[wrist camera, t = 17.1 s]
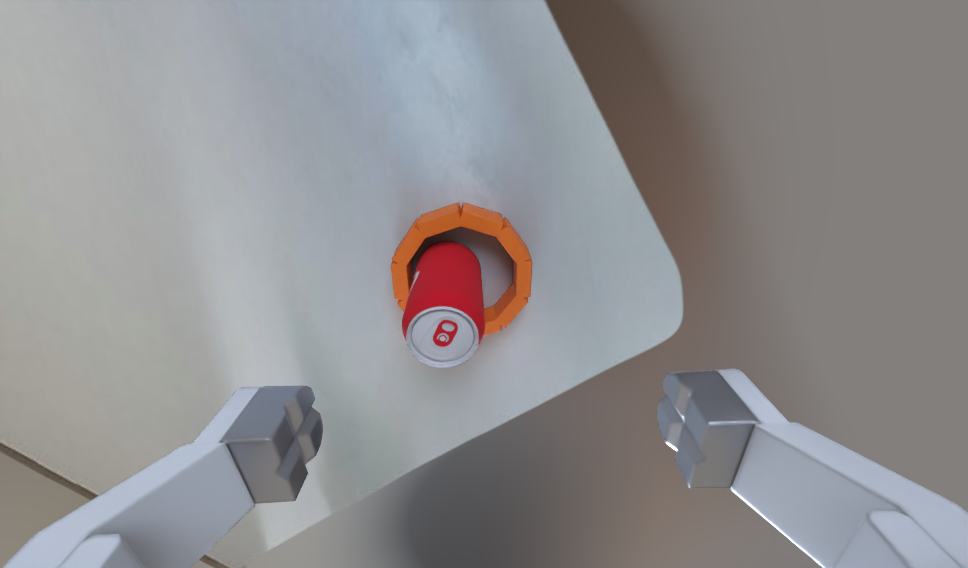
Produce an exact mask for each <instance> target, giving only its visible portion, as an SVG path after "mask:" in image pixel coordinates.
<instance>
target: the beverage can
mask: <svg viewBox="0 0 968 568" xmlns="http://www.w3.org/2000/svg"><path fill="white" fill-rule="evenodd" d="M402 329H403V334H404V337H405V339H406V341H407V345H408V348H409V350H410V351H411V353H412V354H413V355H414V357H415V358H417V359H418V360H419V361H421V362H422V363H424V364H426V365H429V366H433V367H438V368H448V367H454V366H457V365H460V364H462V363H464V362H465V361H467V360H468V359H469V358H470V357H471V356H472V355H473V354H474V352H475V351H476V348H477V346H478V345H479V344H480V342H481V340H482V338H483V335H484V331H485V317H484V304H483V292H482V279H481V268H480V263H479V261H478V259H477V257H476V255H475V254H474V253H473V252H472V251H471V250H470V249H469V248H467V247H466V246H464V245H461V244H459V243H455V242H441V243H437V244H435V245H432V246H431V247H429V248H428V249H426V250H425V251H424V252H423V253H422V255H421V256H420V258H419V260H418V263H417V267H416V270H415V274H414V278H413V281H412V285H411V289H410V293H409V296H408V300H407V304H406V307H405V311H404V315H403V319H402Z"/></svg>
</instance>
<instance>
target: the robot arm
mask: <svg viewBox="0 0 968 568" xmlns="http://www.w3.org/2000/svg"><path fill="white" fill-rule="evenodd" d="M662 387H663V389H664V390H665V392H666V395H665V396H664V397H663V398H662V399H661V400H660V401H659V404H658V410H657V416H658V425H659V428H660V432H661V434H662V436H663V438H664V440H665V442H666V444H667V445H669V446H670V447H672V448H673V449H674V450H676V451H677V455H676V458H675V461H676V463H677V465H678V467H679V469H680V471H681V473H682V475H683V477H684V479H685V481H686V482H687V484H688V486H689V488H731V491H733V492H734V493H735V494H736V495H737V496H739V497H740V498H741V499H742V500H743V501H745V502H746V503H747V504H748V505H749V506H750V507H752V508H753V509H754V510H755V511H756V512H758V513H759V514H760V515H761V516H762V517H764V518H765V519H766V520H767V521H768V522H769V523H771V524H772V525H773V526H774V527H775V528H776V529H778V530H779V531H780V532H781V533H782V534H784V535H785V536H786V537H787V538H788V539H790V540H791V541H792V542H793V543H794V544H795V545H797V546H798V547H799V548H800V549H801V550H803V551H804V552H805V553H806V554H807V555H809V556H810V557H811V558H812V559H813V560H814V561H816V562H817V563H818V564H819V565H820V566H822V567H823V568H968V513H967V512H966V511H965V510H963V509H962V508H961V507H960V506H959V505H957V504H955V503H953V502H951V501H949V500H947V499H945V498H943V497H941V496H939V495H938V494H936V493H934V492H932V491H930V490H928V489H926V488H924V487H922V486H920V485H918V484H916V483H914V482H912V481H910V480H908V479H906V478H904V477H902V476H900V475H898V474H897V473H894V472H893V471H891V470H889V469H887V468H885V467H883V466H881V465H879V464H877V463H875V462H873V461H871V460H869V459H867V458H865V457H863V456H861V455H859V454H857V453H856V452H854V451H851V450H850V449H848V448H846V447H844V446H842V445H840V444H838V443H836V442H834V441H832V440H830V439H828V438H826V437H824V436H822V435H820V434H818V433H816V432H814V431H812V430H811V429H809V428H807V427H805V426H803V425H801V424H799V423H789V422H788V421H787V420H786V419H785V417H784V416H783V415H782V414H781V413H780V412H779V411H778V410H777V409H776V408H775V407H774V406H773V405H772V404H771V402H769V400H768V399H767V398H766V397H765V396H764V395H763V394H762V393H761V392H760V391H759V390H758V389H757V387H756V386H755V385H754V384H753V383H752V382H751V381H750V380H749V379H748V378H747V377H746V376H745V375H744V373H743V372H741V371H739V370H737V369H723V370H712V371H690V372H668V373H667V374H666V376H665V377H664V380H663V384H662ZM314 401H315V397H314V394H313V391H312V389H311V388H310V387H308V386H264V387H242V388H240V389H238V390H236V391H235V392H234V394H233V395H232V396H231V397H230V398H229V400H228V401H227V402H226V403H225V405H224V406H223V407H222V408H221V409H220V411H219V412H218V413H217V414H216V415H215V417H214V418H213V419H212V420H211V422H210V423H209V424H208V425H207V426H206V428H205V429H204V430H203V431H202V432H201V434H200V435H199V436H198V437H197V439H196V440H195V441H194V442H193V443H192V444H184V445H183V446H181V447H179V448H178V449H176V450H174V451H173V452H171V453H169V454H168V455H166V456H164V457H163V458H161V459H159V460H158V461H156V462H154V463H153V464H151V465H149V466H148V467H146V468H144V469H143V470H141V471H139V472H138V473H136V474H134V475H133V476H131V477H129V478H128V479H126V480H124V481H123V482H121V483H119V484H118V485H116V486H114V487H113V488H111V489H109V490H108V491H106V492H104V493H103V494H101V495H99V496H98V497H96V498H94V499H93V500H91V501H89V502H88V503H86V504H84V505H83V506H81V507H80V508H78V509H77V510H74V511H73V512H71V513H69V514H68V515H66V516H65V517H63V518H61V519H60V520H58V521H56V522H55V523H53V524H51V525H50V526H48V527H46V528H45V529H43V530H41V531H40V532H38V533H36V534H35V535H34V536H33V537H32V538H31V539H30V540H29V541H28V542H27V543H26V544H25V545H24V546H23V547H22V548H21V549H20V550H19V551H18V552H17V553H16V554H15V555H14V556H13V557H12V558H11V559H10V560H9V561H8V562H7V563H6V564H5V565H4V566H3V567H2V568H191V567H192V566H193V565H194V564H195V563H196V562H197V561H198V560H199V559H200V558H202V557H203V556H204V555H205V554H206V553H207V552H208V551H209V550H210V549H211V548H212V547H213V546H214V545H215V544H216V543H217V542H218V541H219V540H220V539H221V538H222V537H223V536H224V535H225V534H226V533H228V532H229V531H230V530H231V529H232V528H233V527H234V526H235V525H236V524H237V523H238V522H239V521H240V520H241V519H242V518H243V517H244V516H245V515H246V514H247V513H248V512H249V511H250V510H251V509H252V508H254V507H255V504H256V503H272V502H288V501H295V500H296V498H297V496H298V494H299V492H300V489H301V487H302V485H303V483H304V481H305V479H306V476H307V474H308V472H307V469H306V466H305V464H306V463H308V462H309V461H310V460H311V459H312V458H314V457H315V456H316V454H317V452H318V450H319V447H320V445H321V440H322V434H323V425H322V419H321V416H320V413H319V412H317V411H316V410H315V409H314V408H312V407H311V406H312V404H313V402H314Z"/></svg>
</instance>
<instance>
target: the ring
mask: <svg viewBox="0 0 968 568" xmlns="http://www.w3.org/2000/svg"><path fill="white" fill-rule="evenodd" d="M457 227H465V228H468V229H471V230H475V231H478V232H481V233H485V234H488V235H492V236H495V237H497V239H498V240H499V241H500V243H501V244H502V245H503V247H504V248H505V249H506V251H507V252H508V253H509V254H510V256H511V257H512V258H513V260H514V267H513V284H512V285H511V286H510V287H509V288H508V290H507V291H506V292H505V293H504V294H503V296H502V297H501V298H500V299H499V301H498V302H497V303H496V304H495V305H494V306H492V307H489V308H486V309H484V317H485V331H484V335H488V334H491V333H494V332H498V331H501V326H503V327H504V328H506V327H507V325H508V324H509V323H510V322H511V321H512V320H513V319H514V317H515V316H516V315H517V314H518V313H519V312H520V311H521V309H522V308H523V307H524V306H525V305H526V304H527V302H528V298H527V297H530V293H531V275H532V260H531V256H530V254H529V251H528V248H527V246H526V244H525V243H524V242H523V240H522V239H521V238H520V236H519V235H518V233H517V232H516V231H515V229H514V228H513V227H512V225H511V224H510V222H509V221H508V220H507V218H506V217H504V218H503V219H502V215H501V214H499V213H496V212H493V211H489V210H486V209H483V208H480V207H476V206H473V205H470V204H467V203H463V205H462V208H460V205H459V203H455V204H452V205H449V206H447V207H444V208H441V209H438V210H435V211H432V212H429V213H426V214H423V215H421V216H420V219H418V218H417V219H416V220H415V222H414V223H413V225H412V226H411V228H410V229H409V231H408V232H407V234H406V235H405V237H404V238H403V240H402V241H401V243H400V244H399V246H398V247H397V249H396V252H395V254H394V256H393V258H392V260H393V261H392V263H391V270H392V278H393V287H394V295H395V300H398V303H397V304H398V305H399V306H400V307H401V308H402V309H403V310H404V311H405V307H406V304H407V300H408V296H409V293H410V289H411V285H412V281H413V275H412V264H411V259H412V257H413V256H414V254H415V253H416V251H417V250H418V248H419V247H420V245H421V244H422V243H423V241H424V240H425V238H427V237H430V236H433V235H436V234H439V233H442V232H445V231H448V230H451V229H454V228H457ZM484 335H483V336H484Z"/></svg>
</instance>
